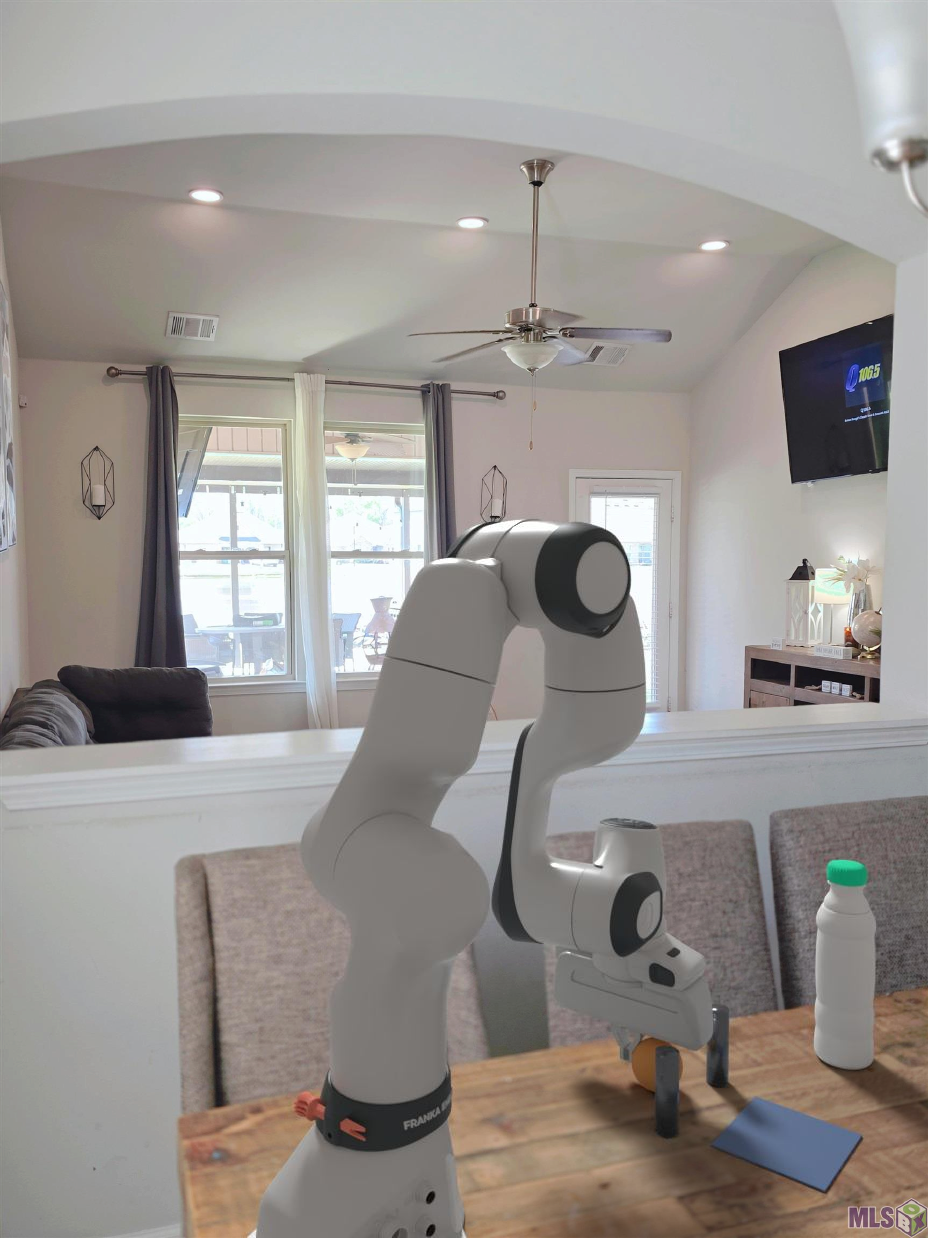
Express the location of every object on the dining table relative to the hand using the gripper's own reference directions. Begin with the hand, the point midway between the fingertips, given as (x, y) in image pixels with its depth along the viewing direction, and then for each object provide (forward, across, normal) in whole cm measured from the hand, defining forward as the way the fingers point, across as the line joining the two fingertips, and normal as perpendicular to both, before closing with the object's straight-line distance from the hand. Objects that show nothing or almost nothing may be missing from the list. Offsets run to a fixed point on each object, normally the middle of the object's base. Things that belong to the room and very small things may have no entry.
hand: (629, 1059), depth 115 cm
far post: (+2, +9, +5) cm, 11 cm away
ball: (-1, +4, 0) cm, 4 cm away
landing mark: (+2, +20, -2) cm, 20 cm away
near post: (+2, +9, -8) cm, 12 cm away
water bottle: (+3, +19, +20) cm, 28 cm away
